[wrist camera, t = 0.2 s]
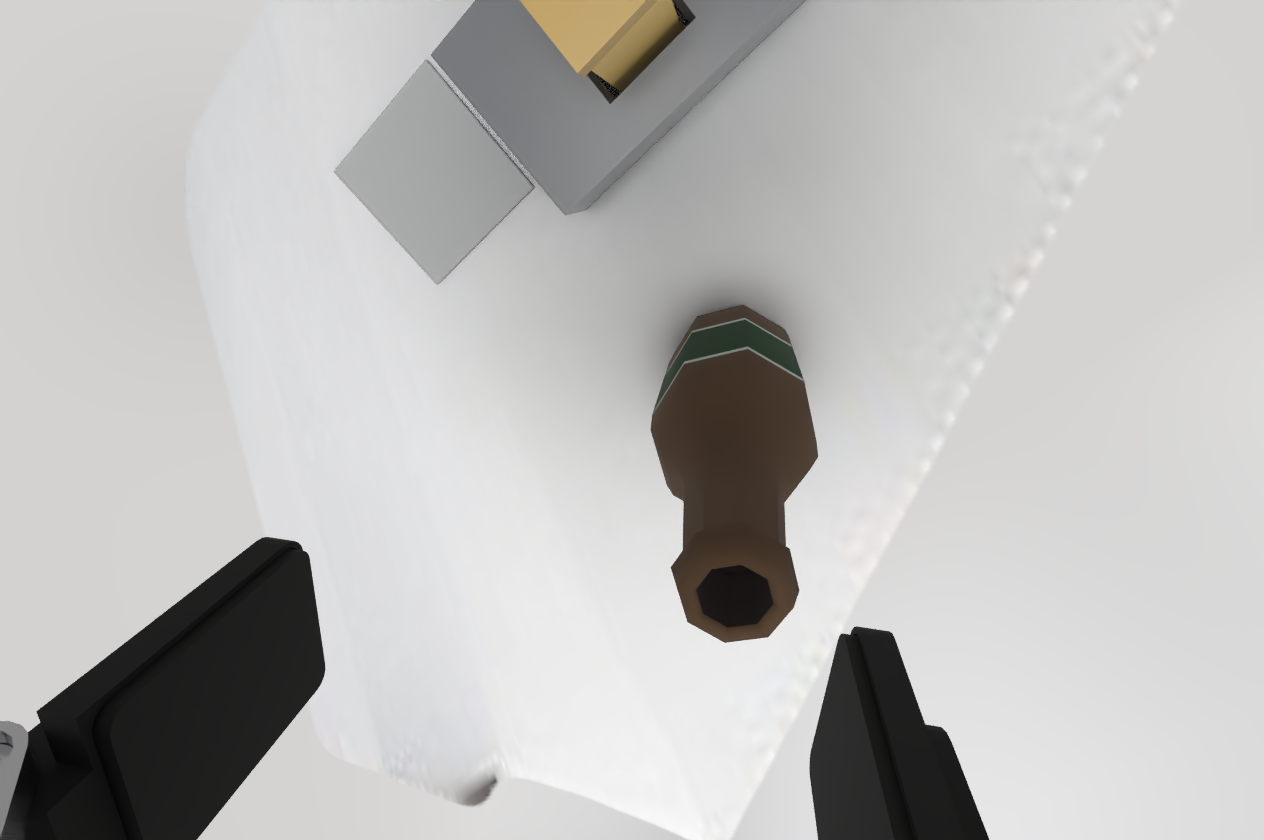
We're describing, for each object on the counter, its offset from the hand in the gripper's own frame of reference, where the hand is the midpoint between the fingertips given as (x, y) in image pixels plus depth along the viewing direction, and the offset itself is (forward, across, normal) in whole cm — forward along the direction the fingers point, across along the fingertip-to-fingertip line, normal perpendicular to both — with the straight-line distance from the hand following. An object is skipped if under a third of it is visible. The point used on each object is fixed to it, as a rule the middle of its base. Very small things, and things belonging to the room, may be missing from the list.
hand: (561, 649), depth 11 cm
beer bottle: (+31, -4, +3) cm, 31 cm away
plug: (+31, +4, -14) cm, 34 cm away
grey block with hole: (+30, +4, -14) cm, 34 cm away
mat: (+31, +16, -6) cm, 35 cm away
